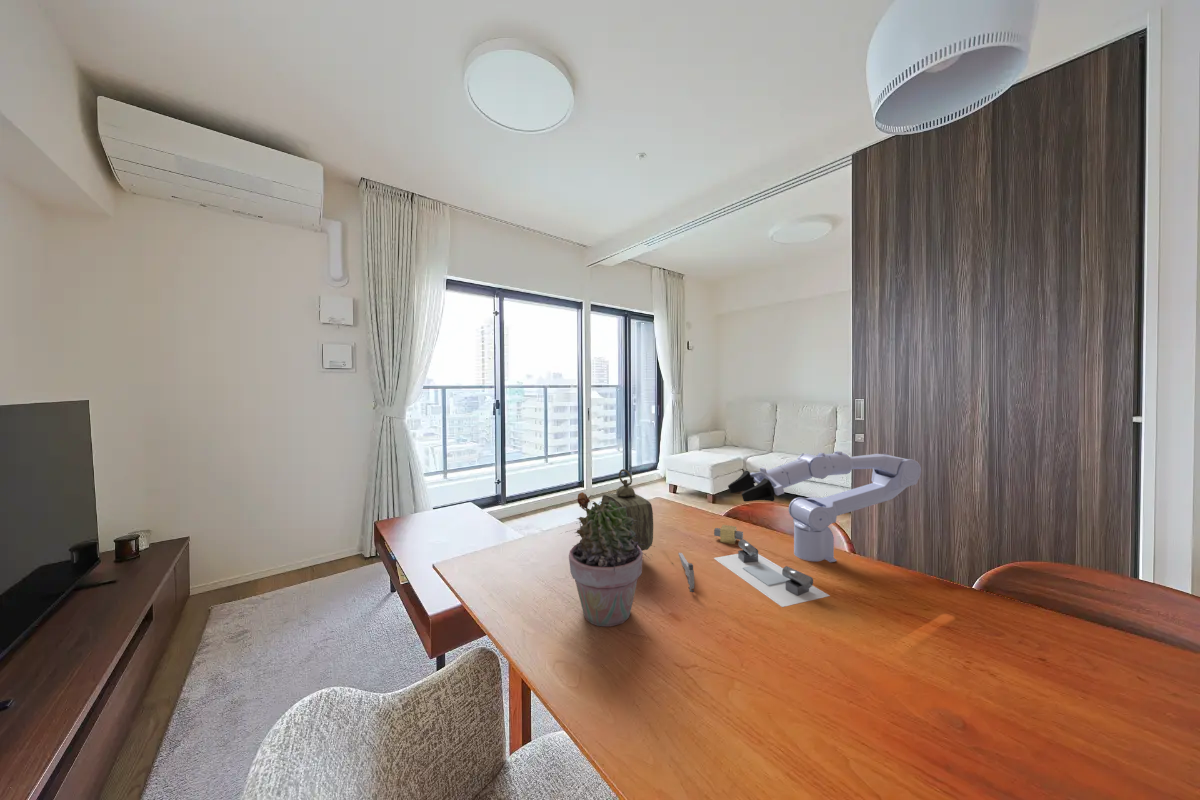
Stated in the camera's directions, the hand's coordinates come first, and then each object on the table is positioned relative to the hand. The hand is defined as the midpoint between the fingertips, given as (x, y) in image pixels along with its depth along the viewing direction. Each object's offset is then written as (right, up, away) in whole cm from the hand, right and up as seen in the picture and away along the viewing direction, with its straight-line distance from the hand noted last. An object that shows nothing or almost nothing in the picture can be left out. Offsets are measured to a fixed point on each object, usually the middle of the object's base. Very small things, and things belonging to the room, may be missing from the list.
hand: (736, 493), depth 104 cm
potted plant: (-33, -21, -20) cm, 44 cm away
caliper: (-14, -20, -3) cm, 24 cm away
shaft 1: (+4, -18, +1) cm, 18 cm away
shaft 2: (+9, -19, -15) cm, 25 cm away
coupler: (+3, -19, +14) cm, 24 cm away
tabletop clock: (-28, -20, +5) cm, 35 cm away
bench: (+5, -19, -7) cm, 21 cm away
